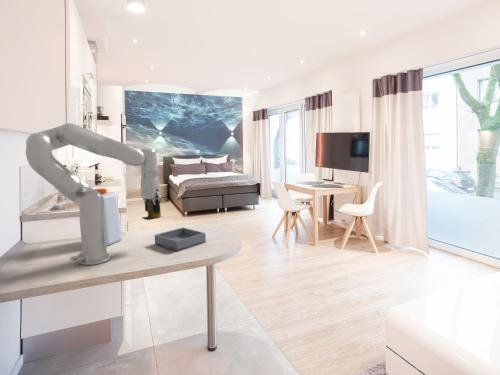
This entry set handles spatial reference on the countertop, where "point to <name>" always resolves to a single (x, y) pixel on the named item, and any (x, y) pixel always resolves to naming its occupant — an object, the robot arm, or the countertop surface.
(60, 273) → the countertop surface
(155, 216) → the condiment
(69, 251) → the countertop surface
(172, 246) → the open bin
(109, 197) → the plastic bottle
